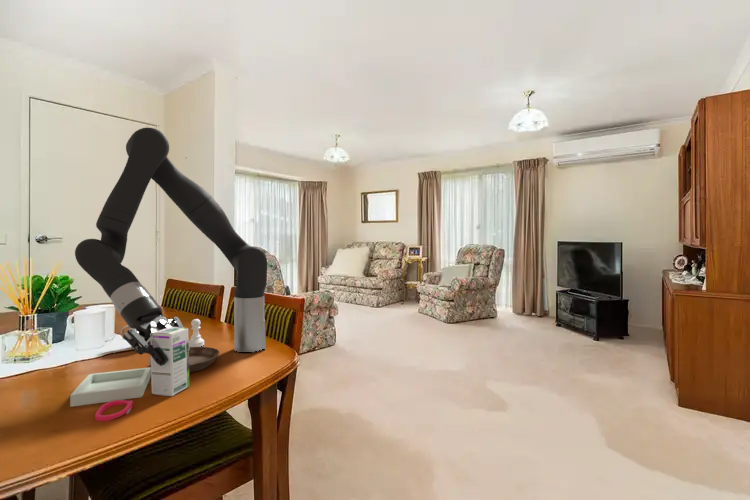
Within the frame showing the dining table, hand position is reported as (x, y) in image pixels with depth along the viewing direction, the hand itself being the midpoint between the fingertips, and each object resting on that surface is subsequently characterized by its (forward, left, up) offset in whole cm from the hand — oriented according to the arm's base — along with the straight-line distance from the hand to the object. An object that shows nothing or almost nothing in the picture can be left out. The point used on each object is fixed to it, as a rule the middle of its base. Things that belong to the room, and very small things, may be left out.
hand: (176, 358), depth 87 cm
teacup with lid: (+13, -43, -8) cm, 46 cm away
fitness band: (+11, +6, -8) cm, 15 cm away
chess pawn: (-3, -38, -8) cm, 39 cm away
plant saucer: (-1, -19, -8) cm, 21 cm away
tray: (+13, -6, -8) cm, 17 cm away
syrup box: (+1, -1, -8) cm, 8 cm away
